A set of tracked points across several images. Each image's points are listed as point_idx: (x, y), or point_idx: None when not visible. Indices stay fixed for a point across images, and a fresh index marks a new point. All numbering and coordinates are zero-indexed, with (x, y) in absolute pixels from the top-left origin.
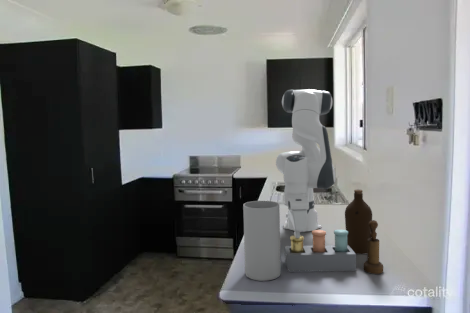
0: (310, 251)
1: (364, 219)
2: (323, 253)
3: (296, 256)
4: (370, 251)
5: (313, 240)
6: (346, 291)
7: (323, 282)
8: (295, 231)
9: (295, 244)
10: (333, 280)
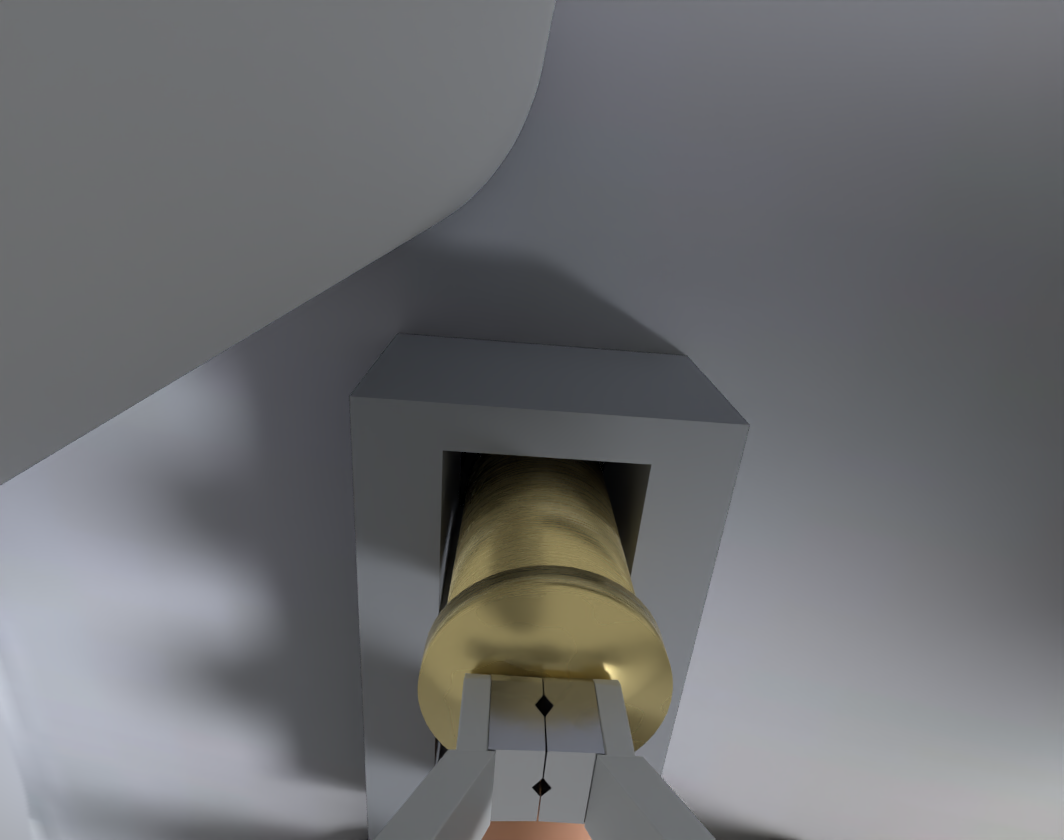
0: None
1: None
2: (402, 759)
3: (358, 495)
4: None
5: (497, 825)
6: (31, 670)
7: (168, 572)
8: (407, 808)
9: (455, 585)
10: (217, 642)
